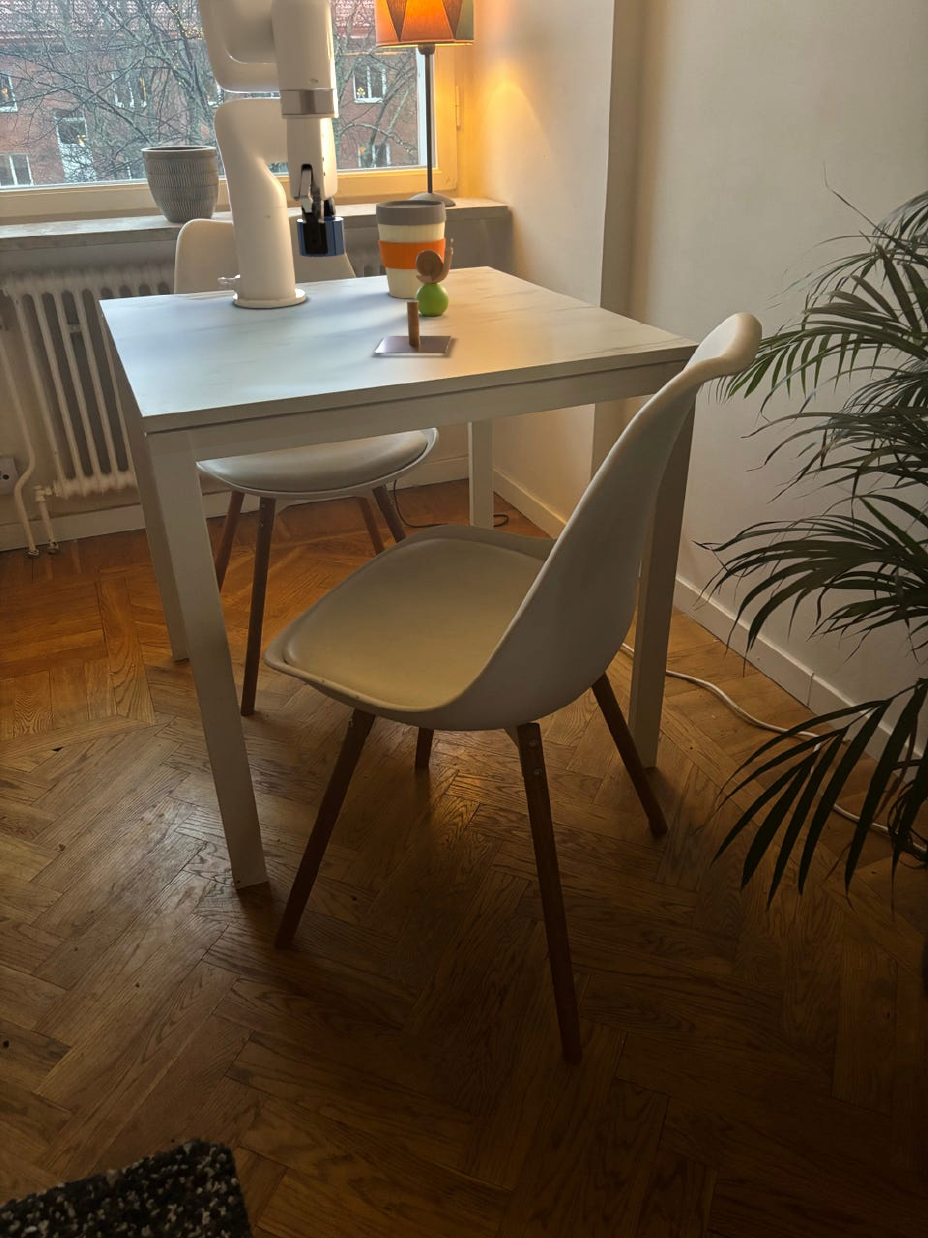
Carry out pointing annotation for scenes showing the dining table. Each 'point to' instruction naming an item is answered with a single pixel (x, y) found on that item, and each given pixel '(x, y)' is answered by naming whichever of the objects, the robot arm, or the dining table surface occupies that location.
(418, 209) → the reusable coffee cup
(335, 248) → the blue ring
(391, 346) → the dowel stand
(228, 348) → the dining table surface
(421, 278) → the snail figurine
